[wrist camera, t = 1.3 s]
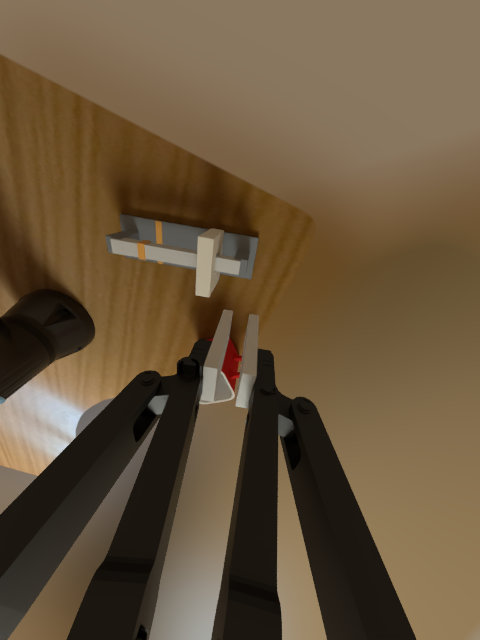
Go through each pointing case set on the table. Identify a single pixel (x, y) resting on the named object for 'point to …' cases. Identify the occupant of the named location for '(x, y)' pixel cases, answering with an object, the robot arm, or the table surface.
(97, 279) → the table surface
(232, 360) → the mug
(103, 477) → the robot arm
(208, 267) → the thick cream end plate
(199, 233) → the grey slide rail
